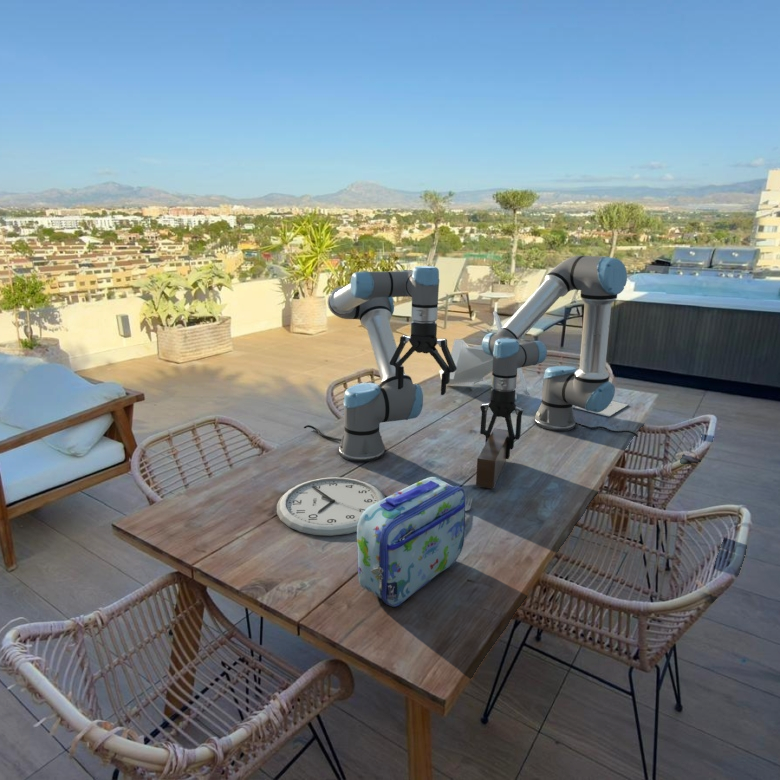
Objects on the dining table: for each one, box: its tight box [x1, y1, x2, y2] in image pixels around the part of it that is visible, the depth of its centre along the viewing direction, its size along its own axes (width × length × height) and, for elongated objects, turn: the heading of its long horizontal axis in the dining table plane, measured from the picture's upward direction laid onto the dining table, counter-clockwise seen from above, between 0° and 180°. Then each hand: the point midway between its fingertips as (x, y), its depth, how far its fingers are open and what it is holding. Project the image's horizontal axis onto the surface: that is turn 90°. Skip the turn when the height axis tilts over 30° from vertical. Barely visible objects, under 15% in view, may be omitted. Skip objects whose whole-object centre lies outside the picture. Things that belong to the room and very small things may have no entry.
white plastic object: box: [438, 310, 531, 400], centre depth 245 cm, size 37×45×31 cm
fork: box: [465, 496, 473, 512], centre depth 138 cm, size 3×16×2 cm, turn 160°
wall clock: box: [276, 476, 386, 537], centre depth 142 cm, size 30×2×30 cm
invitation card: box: [573, 400, 629, 418], centre depth 226 cm, size 21×1×15 cm
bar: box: [475, 427, 509, 490], centre depth 162 cm, size 25×5×9 cm, turn 158°
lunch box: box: [356, 476, 466, 608], centre depth 110 cm, size 26×11×21 cm, turn 134°
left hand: (421, 391), depth 158 cm, fingers open, 13 cm apart
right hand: (498, 455), depth 171 cm, fingers closed on bar, 5 cm apart
